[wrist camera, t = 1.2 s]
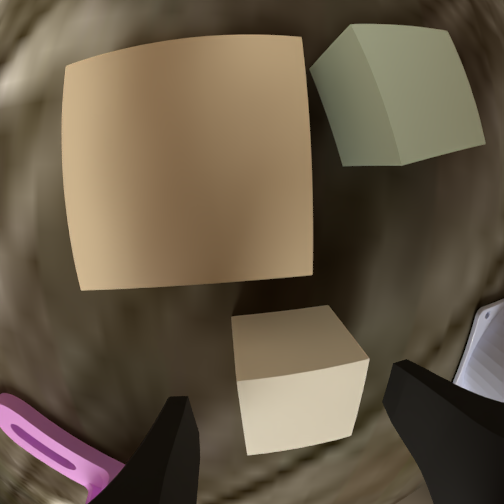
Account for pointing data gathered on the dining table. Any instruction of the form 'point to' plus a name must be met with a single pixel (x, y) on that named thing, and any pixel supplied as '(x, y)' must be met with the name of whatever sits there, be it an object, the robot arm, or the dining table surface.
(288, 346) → the cream cube
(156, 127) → the oak slab
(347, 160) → the sage cube
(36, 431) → the bracket
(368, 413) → the dining table surface
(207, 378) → the dining table surface
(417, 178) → the dining table surface
